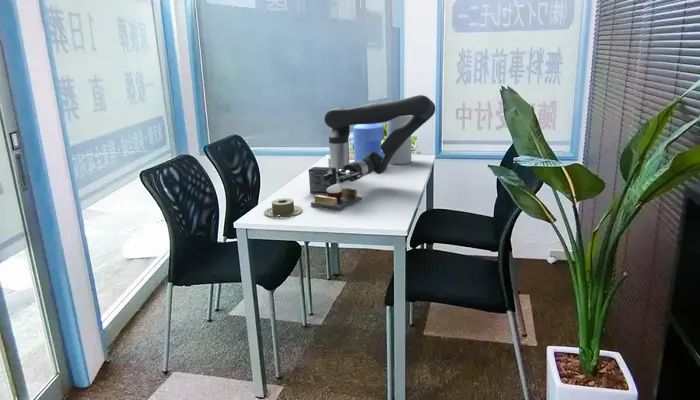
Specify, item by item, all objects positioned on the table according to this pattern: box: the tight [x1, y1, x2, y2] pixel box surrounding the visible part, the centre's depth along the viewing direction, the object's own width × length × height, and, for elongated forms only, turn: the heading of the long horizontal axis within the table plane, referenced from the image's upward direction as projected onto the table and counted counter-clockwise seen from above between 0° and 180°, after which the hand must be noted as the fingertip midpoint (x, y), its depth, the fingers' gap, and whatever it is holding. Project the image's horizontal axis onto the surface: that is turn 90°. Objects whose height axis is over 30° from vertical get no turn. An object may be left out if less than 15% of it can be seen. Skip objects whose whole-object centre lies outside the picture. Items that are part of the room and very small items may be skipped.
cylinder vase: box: [386, 115, 412, 166], centre depth 282 cm, size 12×12×25 cm
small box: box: [308, 166, 333, 194], centre depth 235 cm, size 11×6×10 cm, turn 71°
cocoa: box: [326, 168, 343, 200], centre depth 216 cm, size 10×6×12 cm, turn 158°
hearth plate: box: [310, 186, 363, 211], centre depth 217 cm, size 14×16×4 cm
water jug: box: [352, 123, 385, 161], centre depth 276 cm, size 16×16×28 cm
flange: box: [263, 198, 304, 219], centre depth 209 cm, size 5×15×15 cm
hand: (332, 179), depth 213 cm, fingers open, 7 cm apart
